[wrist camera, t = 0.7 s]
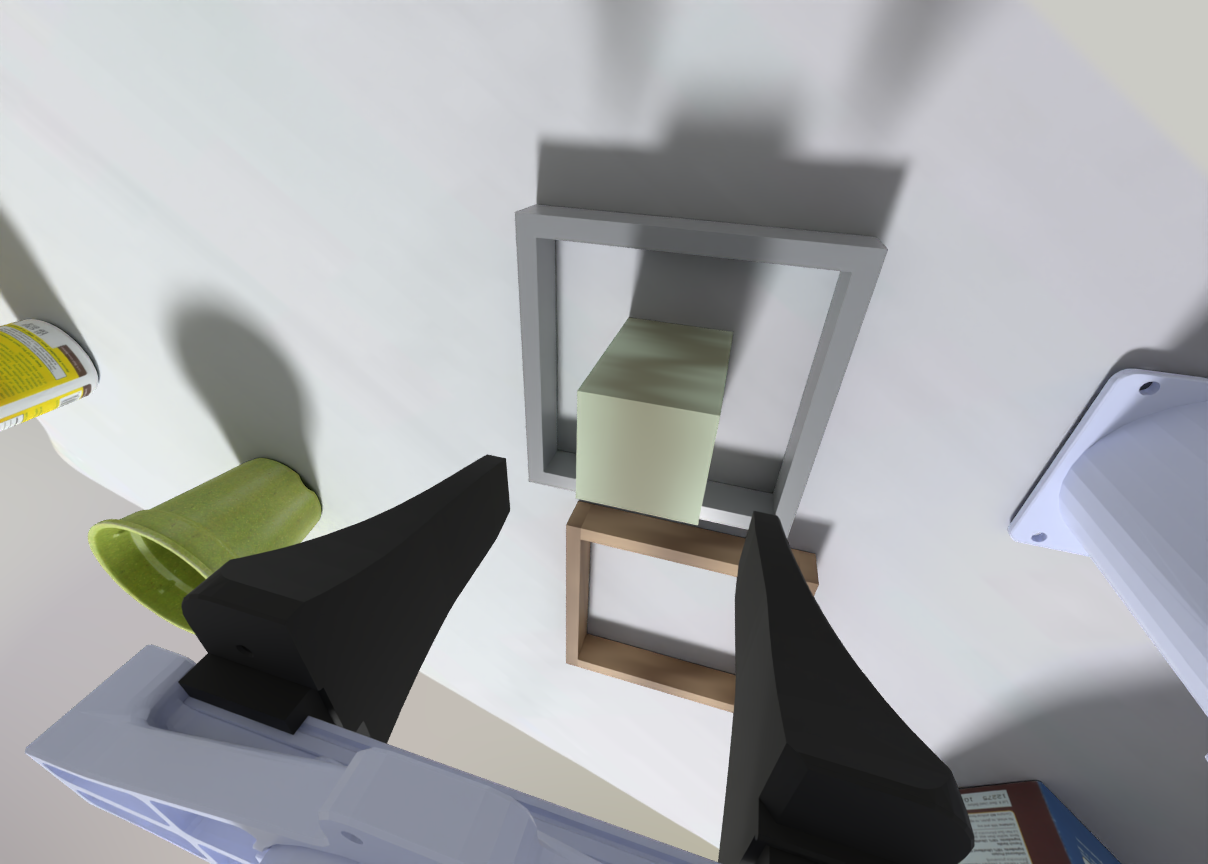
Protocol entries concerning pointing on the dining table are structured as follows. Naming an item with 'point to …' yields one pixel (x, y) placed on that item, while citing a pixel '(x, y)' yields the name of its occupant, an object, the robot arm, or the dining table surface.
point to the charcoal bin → (702, 238)
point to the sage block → (652, 419)
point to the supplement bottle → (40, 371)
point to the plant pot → (204, 533)
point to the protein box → (1027, 828)
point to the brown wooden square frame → (664, 544)
